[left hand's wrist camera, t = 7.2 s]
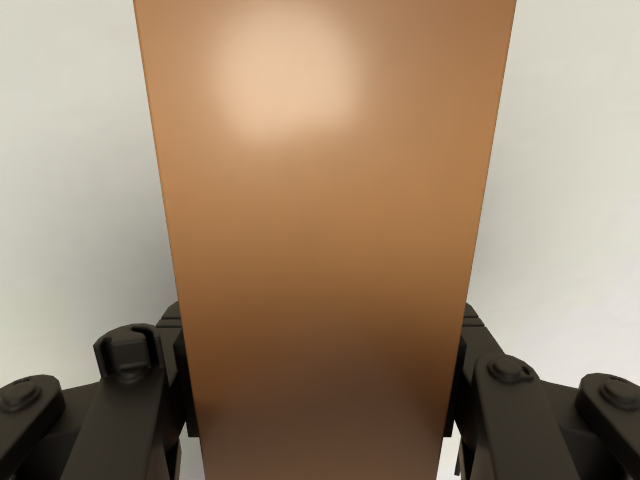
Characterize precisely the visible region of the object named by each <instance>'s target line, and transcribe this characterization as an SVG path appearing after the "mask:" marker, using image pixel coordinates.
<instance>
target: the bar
mask: <svg viewBox="0 0 640 480" xmlns="http://www.w3.org/2000/svg"><path fill="white" fill-rule="evenodd" d="M516 1H517V0H133V4H134V11H135V17H136V24H137V30H138V37H139V44H140V50H141V57H142V63H143V70H144V77H145V83H146V90H147V96H148V103H149V110H150V116H151V123H152V129H153V136H154V143H155V149H156V156H157V162H158V169H159V175H160V182H161V189H162V195H163V202H164V208H165V215H166V222H167V228H168V235H169V241H170V248H171V255H172V261H173V268H174V274H175V281H176V288H177V294H178V301H179V307H180V314H181V321H182V327H183V334H184V340H185V347H186V354H187V360H188V367H189V373H190V380H191V387H192V393H193V400H194V406H195V413H196V420H197V426H198V433H199V439H200V446H201V453H202V459H203V466H204V472H205V479H206V480H436V477H437V471H438V465H439V459H440V453H441V448H442V442H443V436H444V430H445V424H446V418H447V412H448V406H449V400H450V394H451V388H452V382H453V376H454V370H455V364H456V358H457V352H458V346H459V340H460V334H461V328H462V322H463V316H464V311H465V305H466V299H467V293H468V287H469V281H470V275H471V269H472V263H473V257H474V251H475V245H476V239H477V233H478V227H479V221H480V215H481V209H482V203H483V197H484V191H485V185H486V180H487V174H488V168H489V162H490V156H491V150H492V144H493V138H494V132H495V126H496V120H497V114H498V108H499V102H500V96H501V90H502V84H503V78H504V72H505V66H506V60H507V54H508V48H509V43H510V37H511V31H512V25H513V19H514V13H515V7H516Z"/></svg>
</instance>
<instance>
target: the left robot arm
mask: <svg viewBox="0 0 640 480" xmlns="http://www.w3.org/2000/svg"><path fill="white" fill-rule="evenodd" d="M161 318H162V319H161V320H159V322H158V323H157V325H156V327H155V326H153V325H149V324H130V325H126V326H121V327H119V328H116V329H114V330H112V331H109V332H108V333H106V334H105V335H103V336H102V337H100V338H99V339H98V340H97V341H96V343H95V344H94V345H93V348H94V352H95V356H96V359H97V363H98V367H99V371H100V374H101V379H100V381H99V382H96V383H92V384H88V385H84V386H79V387H75V388H70V389H66V390H62V389H61V386H60V383H59V380H57V379H56V378H55V377H54V376H50V375H35V376H29V377H25V378H23V379H19V380H16V381H14V382H12V383H10V384H8V385H6V386H4V387H2V388H0V480H179V473H180V463H181V446H180V440H179V436H180V433H181V431H182V428H183V426H184V423H185V421H186V426H187V432H188V437H199V433H198V426H197V420H196V413H195V406H194V400H193V393H192V387H191V380H190V373H189V367H188V360H187V354H186V347H185V340H184V334H183V327H182V321H181V314H180V307H179V301H177V302H175V303H174V304H173V305H171V306H170V307H168V309H167V310H166V312H165V313H164V315H163V316H162V317H161ZM454 420H455V422H456V425H457V427H458V429H459V432H460V434H461V440H460V445H459V451H458V456H457V462H456V467H455V474H454V475H457V476H459V475H460V472H461V480H640V386H638V385H636V384H634V383H632V382H630V381H628V380H626V379H623V378H621V377H617V376H614V375H610V374H602V373H593V374H587V375H586V376H584V377H583V378H582V379H581V382H580V385H579V388H578V389H577V388H573V387H568V386H563V385H559V384H554V383H550V382H546V381H543V380H540V378H539V376H538V375H537V373H536V372H535V371H534V369H533V368H532V367H530V366H529V365H528V364H526V363H525V362H524V361H522V360H520V359H518V358H515V357H513V356H510V355H506V354H505V353H504V352H503V350H502V349H501V347H500V346H499V345H498V343H497V342H496V340H495V339H494V338H493V336H492V335H491V333H490V332H489V330H488V329H487V328H486V327H485V326H484V323H483V322H482V321H481V319H480V318H478V315H477V313H476V312H475V311H474V309H473V308H472V306H471V305H469V304H468V303H466V305H465V311H464V316H463V322H462V328H461V334H460V340H459V346H458V352H457V358H456V364H455V370H454V376H453V382H452V388H451V394H450V400H449V406H448V412H447V418H446V424H445V430H444V436H443V437H451V436H452V430H453V424H454Z"/></svg>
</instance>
